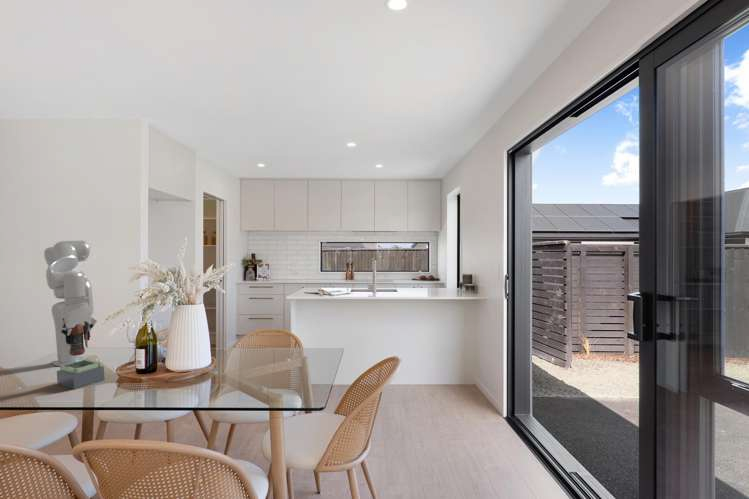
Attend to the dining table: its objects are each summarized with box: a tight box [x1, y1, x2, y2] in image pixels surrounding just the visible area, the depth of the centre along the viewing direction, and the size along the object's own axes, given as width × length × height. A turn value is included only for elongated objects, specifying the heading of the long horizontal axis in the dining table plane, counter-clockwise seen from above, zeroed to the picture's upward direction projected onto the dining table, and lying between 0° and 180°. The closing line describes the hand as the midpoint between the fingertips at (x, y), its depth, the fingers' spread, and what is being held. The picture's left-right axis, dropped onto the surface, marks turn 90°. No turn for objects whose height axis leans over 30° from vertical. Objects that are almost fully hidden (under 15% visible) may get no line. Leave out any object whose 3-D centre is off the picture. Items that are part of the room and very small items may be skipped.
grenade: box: [70, 321, 89, 356], centre depth 182 cm, size 6×8×15 cm
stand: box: [56, 359, 106, 390], centre depth 183 cm, size 14×12×8 cm
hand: (78, 341), depth 182 cm, fingers closed on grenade, 6 cm apart
